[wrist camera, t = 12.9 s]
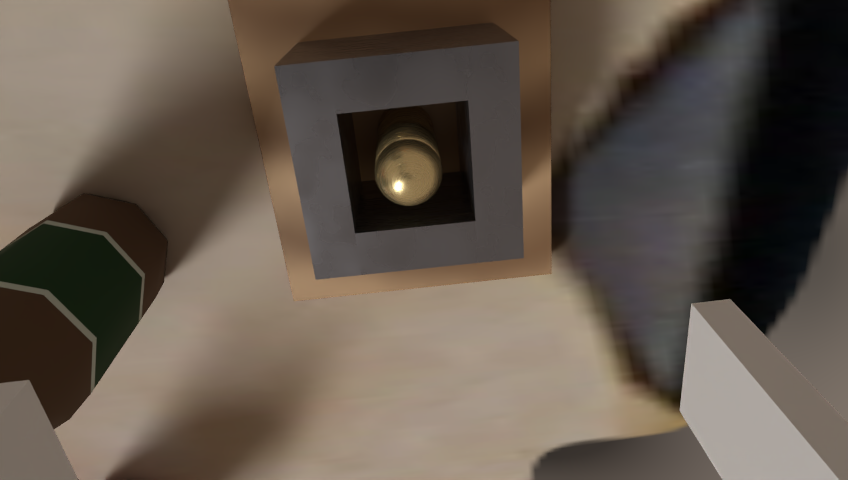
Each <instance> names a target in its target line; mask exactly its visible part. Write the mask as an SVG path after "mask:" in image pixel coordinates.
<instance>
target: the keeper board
mask: <svg viewBox="0 0 848 480" xmlns="http://www.w3.org/2000/svg"><path fill="white" fill-rule="evenodd" d="M228 3H229V8H230V12H231V17H232V21H233V26H234V31H235V35H236V40H237V44H238V49H239V53H240V58H241V62H242V67H243V72H244V76H245V81H246V85H247V90H248V94H249V99H250V103H251V108H252V113H253V117H254V122H255V126H256V131H257V135H258V140H259V144H260V149H261V154H262V158H263V163H264V167H265V172H266V176H267V181H268V185H269V190H270V194H271V199H272V204H273V208H274V213H275V217H276V222H277V226H278V231H279V235H280V240H281V245H282V249H283V254H284V258H285V263H286V267H287V272H288V276H289V281H290V286H291V290H292V295H293V299H294V301H300V300H310V299H319V298H329V297H338V296H347V295H357V294H366V293H376V292H385V291H394V290H404V289H413V288H422V287H432V286H441V285H451V284H460V283H469V282H479V281H488V280H497V279H507V278H516V277H526V276H535V275H544V274H551V20H550V0H228ZM491 22H493V23H495V24H496V25H497V26H499V27H500V28H502V29H503V30H504V31H506V32H507V33H508V34H510V35H511V36H513V37H514V38H515V39H517V40H518V41H519V69H520V113H521V157H522V200H523V244H524V258H521V259H511V260H502V261H492V262H482V263H473V264H463V265H454V266H444V267H434V268H425V269H415V270H406V271H396V272H386V273H377V274H367V275H357V276H348V277H338V278H329V279H319V280H316V279H315V274H314V269H313V264H312V259H311V253H310V248H309V243H308V238H307V233H306V228H305V223H304V217H303V212H302V207H301V202H300V197H299V192H298V187H297V181H296V176H295V171H294V166H293V161H292V156H291V151H290V146H289V140H288V135H287V130H286V125H285V120H284V115H283V110H282V104H281V99H280V94H279V89H278V84H277V79H276V74H275V68H274V66H275V65H276V64H277V63H278V62H279V61H280V60H281V59H282V58H283V57H284V56H285V55H286V54H287V53H288V52H289V51H290V50H291V49H292V48H293V47H294V46H295V45H296V44H297V43H298V42H305V41H315V40H325V39H335V38H344V37H354V36H364V35H374V34H383V33H393V32H403V31H413V30H422V29H432V28H442V27H452V26H461V25H471V24H481V23H491ZM419 106H420V107H421V108H423V109H424V110H425V111H426V112H427V113H428V115H429V116H430V119H431V121H432V125H433V129H434V134H435V138H436V142H437V147H438V151H439V155H440V160H441V164H442V173H447V172H457V171H460V162H459V147H458V133H457V119H456V104H455V102H448V103H439V104H429V105H419ZM386 110H387V109H380V110H371V111H361V112H352V118H353V125H354V132H355V139H356V146H357V152H358V159H359V166H360V173H361V180H362V181H370V180H376V179H375V159H376V146H377V133H378V123H379V120H380V118H381V116H382V114H383V113H384V112H385V111H386Z"/></svg>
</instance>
